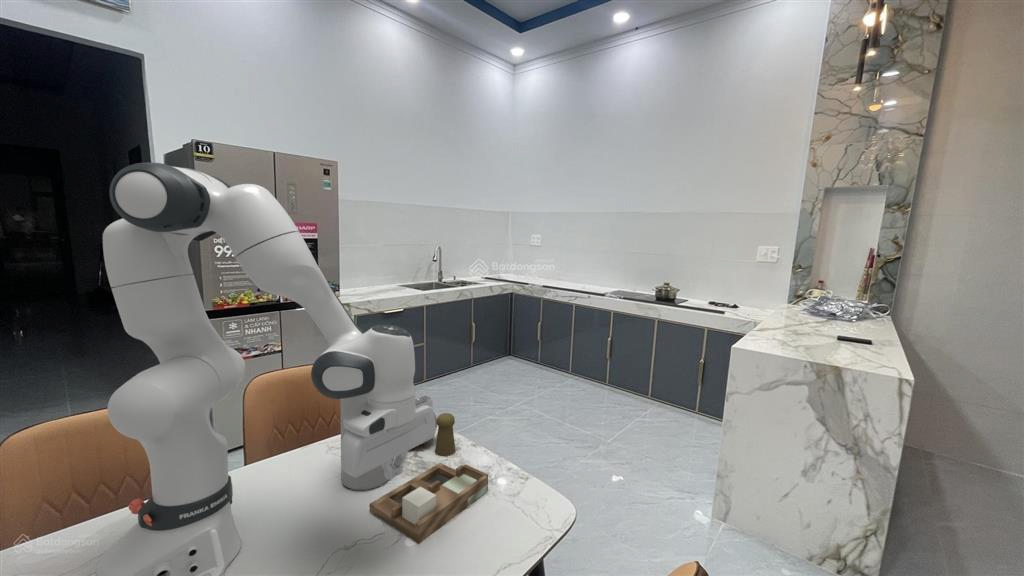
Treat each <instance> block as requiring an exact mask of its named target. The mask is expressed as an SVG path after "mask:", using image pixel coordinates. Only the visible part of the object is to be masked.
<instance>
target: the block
mask: <svg viewBox="0 0 1024 576" xmlns="http://www.w3.org/2000/svg"><path fill="white" fill-rule="evenodd" d="M434 510H436V495H435V494H433V493H431V492H429V491H428V490H426V489H424V488H422V487H419V488H417V489H416V490H414V491H412V492H411V493H409V494H407V495H406V496H404V497H403V498H402V517H403V518H404V519H406V520H408V521H409V522H411V523H412V524H414V525H415V523H417V522H418V521H420V520H421V519H423V518H424V517H426V516H427V515H428V514H430V513H431V512H433V511H434Z"/></svg>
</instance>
